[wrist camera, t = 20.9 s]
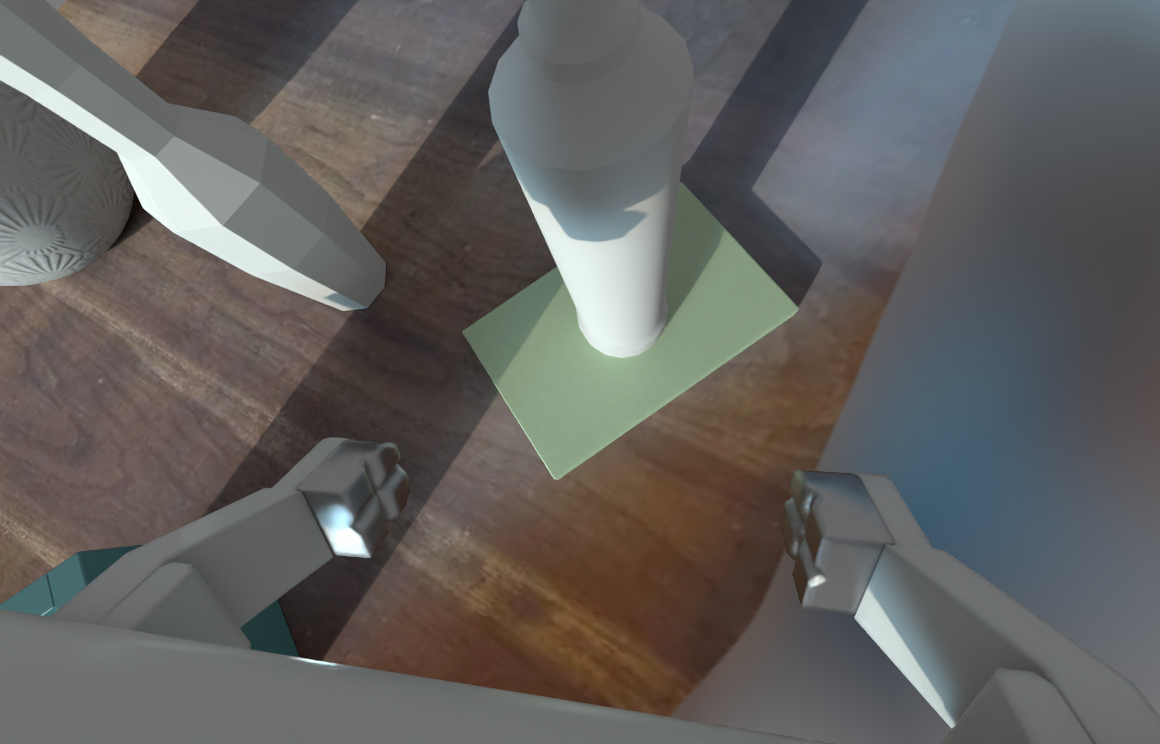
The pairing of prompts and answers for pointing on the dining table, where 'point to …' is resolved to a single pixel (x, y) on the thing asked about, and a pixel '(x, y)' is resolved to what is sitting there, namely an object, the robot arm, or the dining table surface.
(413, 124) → the dining table surface
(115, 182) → the planter
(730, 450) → the dining table surface
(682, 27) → the dining table surface
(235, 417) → the dining table surface
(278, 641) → the holster
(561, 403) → the mat
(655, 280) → the bottle
